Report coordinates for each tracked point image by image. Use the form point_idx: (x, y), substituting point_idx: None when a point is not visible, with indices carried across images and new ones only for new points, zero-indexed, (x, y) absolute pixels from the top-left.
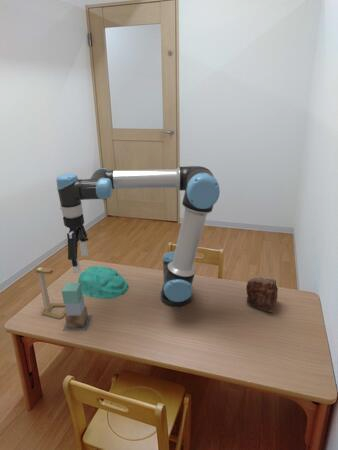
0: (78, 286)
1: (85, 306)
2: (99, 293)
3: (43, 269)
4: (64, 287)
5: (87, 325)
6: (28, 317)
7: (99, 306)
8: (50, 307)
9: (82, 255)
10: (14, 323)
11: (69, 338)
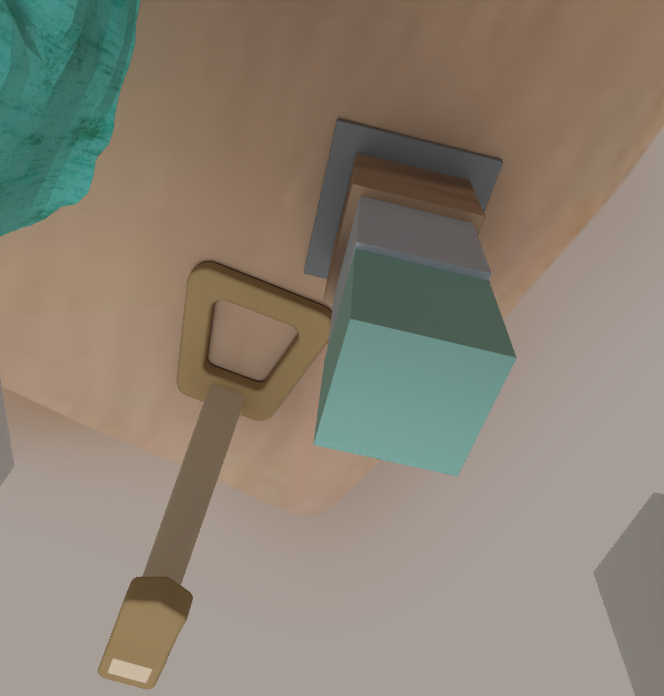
0: (424, 340)
1: (358, 191)
2: (90, 57)
3: (139, 648)
4: (397, 457)
5: (448, 155)
6: (273, 462)
7: (225, 58)
8: (220, 384)
9: (4, 464)
10: (309, 507)
11: (525, 263)
